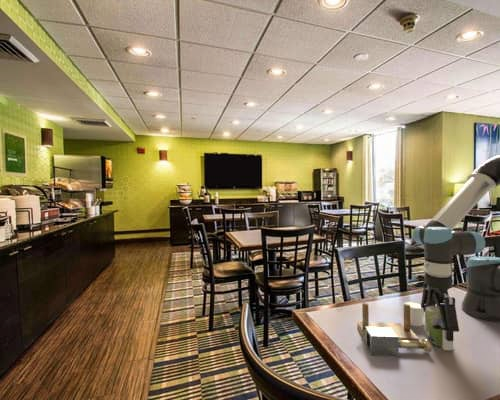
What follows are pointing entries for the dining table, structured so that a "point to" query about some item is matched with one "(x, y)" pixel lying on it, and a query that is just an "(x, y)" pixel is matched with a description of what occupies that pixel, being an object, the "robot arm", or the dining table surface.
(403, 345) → the pin
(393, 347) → the slot block
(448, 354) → the dining table surface
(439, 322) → the beverage can
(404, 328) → the peg stand
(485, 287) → the robot arm
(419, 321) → the beige tapered cylinder
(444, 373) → the dining table surface
